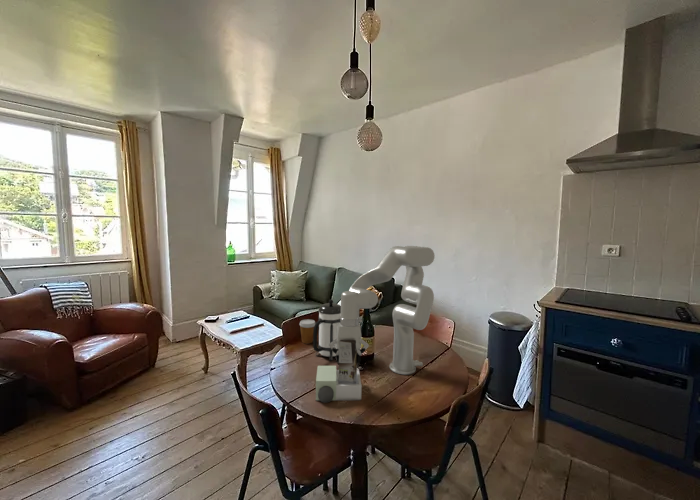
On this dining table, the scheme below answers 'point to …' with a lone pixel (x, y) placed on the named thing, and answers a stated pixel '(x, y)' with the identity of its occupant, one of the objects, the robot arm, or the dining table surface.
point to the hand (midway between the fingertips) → (348, 363)
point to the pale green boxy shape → (336, 385)
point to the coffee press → (327, 328)
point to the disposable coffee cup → (307, 330)
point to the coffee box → (347, 360)
